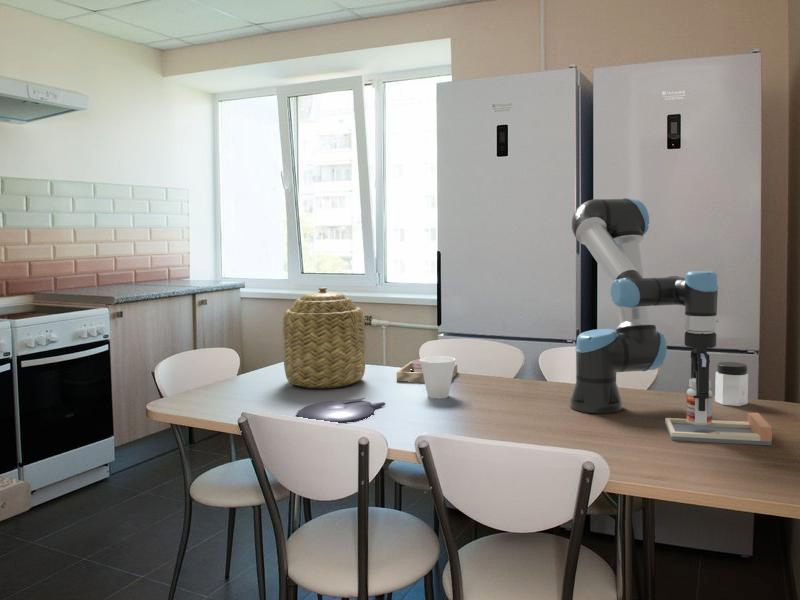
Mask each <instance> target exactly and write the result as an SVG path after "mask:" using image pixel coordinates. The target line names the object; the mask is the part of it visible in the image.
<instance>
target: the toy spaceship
mask: <svg viewBox="0 0 800 600" xmlns="http://www.w3.org/2000/svg"><path fill="white" fill-rule="evenodd" d="M365 399H366V397H364V398H363V397H362V398H356V399H341V400H331V401H323V402H322V401H321V402H317V403H313V404H309V405H306V406H305V407H303V408H301V409H299V410H298V411H297V413H296V414H297V415H296V414H295V417H296V416H297V417H303V418H308V419H316V420H324V421H330V422H338V423H345V424H348V423H347V422H353V423H357V421H358V422H360V421H359V420H362V421H364V420H363V419H365V418H366V419H365V420H368V419H369V418H368V417H370V416H371V415H373V416H374V415H375V414H374V411H375V412H376V409H379V408H381V407H383V406H385V405H386V402H383V401H382V402H374V403H372V402H370V401H367V400H365ZM367 418H368V419H367ZM370 418H371V417H370Z"/></svg>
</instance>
